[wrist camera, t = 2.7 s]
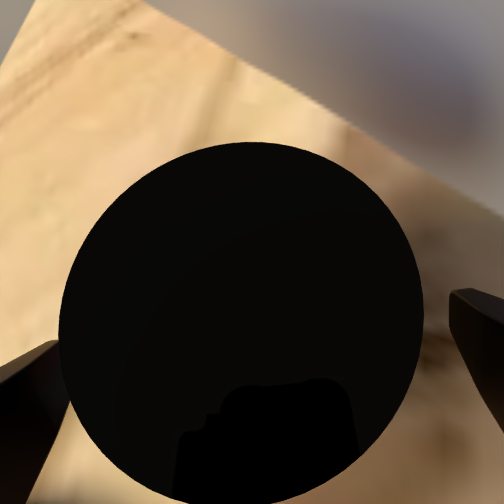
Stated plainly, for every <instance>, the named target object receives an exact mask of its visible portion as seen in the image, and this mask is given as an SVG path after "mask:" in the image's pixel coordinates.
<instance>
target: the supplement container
mask: <svg viewBox="0 0 504 504" xmlns="http://www.w3.org/2000/svg"><path fill="white" fill-rule="evenodd" d="M423 321H424V309H423V293H422V287H421V281H420V275H419V271H418V268H417V264H416V261H415V257H414V255H413V252H412V250H411V247H410V245H409V242H408V240H407V238H406V236H405V234H404V232H403V230H402V228H401V227H400V225H399V223H398V221H397V220H396V219H395V217H394V216H393V214H392V213H391V211H390V210H389V208H388V207H387V206H386V205H385V204H384V202H383V201H382V200H381V199H380V198H379V196H378V195H377V194H376V193H375V192H374V191H372V190H371V189H370V188H369V187H368V186H367V185H366V184H365V183H364V182H363V181H361V180H360V179H359V178H358V177H356V176H355V175H354V174H352V173H351V172H349V171H348V170H346V169H345V168H343V167H341V166H340V165H338V164H336V163H334V162H332V161H330V160H328V159H326V158H324V157H322V156H320V155H317V154H315V153H312V152H309V151H306V150H303V149H299V148H296V147H292V146H287V145H281V144H275V143H264V142H240V143H229V144H223V145H217V146H212V147H208V148H204V149H200V150H197V151H194V152H191V153H188V154H185V155H183V156H180V157H178V158H176V159H173V160H171V161H169V162H167V163H165V164H163V165H162V166H160V167H158V168H156V169H154V170H153V171H151V172H150V173H148V174H147V175H145V176H143V177H142V178H141V179H139V180H138V181H137V182H135V183H134V184H133V185H132V186H130V187H129V188H128V189H127V190H126V191H125V192H123V193H122V194H121V195H120V196H119V197H118V198H117V199H116V200H115V201H114V202H113V203H112V204H111V205H110V206H109V207H108V208H107V210H106V211H105V212H104V213H103V215H102V216H101V217H100V218H99V220H98V221H97V222H96V224H95V225H94V226H93V228H92V229H91V231H90V232H89V234H88V235H87V237H86V239H85V241H84V242H83V244H82V246H81V248H80V250H79V252H78V254H77V256H76V258H75V260H74V263H73V265H72V267H71V270H70V273H69V276H68V279H67V282H66V285H65V289H64V293H63V297H62V303H61V309H60V315H59V330H58V339H59V356H60V363H61V370H62V374H63V378H64V383H65V387H66V390H67V393H68V395H69V398H70V401H71V404H72V406H73V408H74V410H75V412H76V414H77V416H78V418H79V420H80V422H81V424H82V426H83V427H84V429H85V430H86V432H87V433H88V435H89V437H90V438H91V439H92V441H93V442H94V443H95V444H96V446H97V447H98V448H99V449H100V450H101V452H102V453H103V454H104V455H105V456H106V457H107V458H108V459H109V460H110V461H111V462H112V463H113V464H114V465H115V466H116V467H117V468H119V469H120V470H121V471H123V472H124V473H125V474H127V475H128V476H129V477H131V478H132V479H133V480H135V481H136V482H138V483H140V484H142V485H143V486H145V487H147V488H149V489H150V490H152V491H154V492H157V493H159V494H161V495H164V496H166V497H169V498H171V499H174V500H178V501H181V502H185V503H188V504H272V503H276V502H281V501H284V500H287V499H290V498H292V497H295V496H298V495H301V494H304V493H306V492H308V491H310V490H312V489H314V488H316V487H318V486H320V485H322V484H324V483H326V482H327V481H329V480H330V479H332V478H333V477H335V476H336V475H338V474H339V473H341V472H342V471H344V470H345V469H346V468H347V467H349V466H350V465H351V464H352V463H353V462H355V461H356V460H357V459H358V458H359V457H360V456H362V455H363V454H364V453H365V452H366V451H367V449H368V448H369V447H370V446H371V445H372V444H373V443H374V442H375V441H376V440H377V439H378V438H379V436H380V435H381V434H382V432H383V431H384V430H385V428H386V427H387V426H388V424H389V423H390V421H391V420H392V419H393V417H394V415H395V413H396V412H397V410H398V408H399V406H400V405H401V403H402V401H403V399H404V397H405V395H406V393H407V390H408V388H409V385H410V383H411V381H412V378H413V375H414V372H415V368H416V365H417V362H418V358H419V353H420V348H421V342H422V337H423Z"/></svg>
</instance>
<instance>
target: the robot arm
mask: <svg viewBox="0 0 504 504" xmlns="http://www.w3.org/2000/svg"><path fill="white" fill-rule="evenodd" d="M449 328H450V332H451V334H452V336H453V339H454V341H455V343H456V345H457V347H458V349H459V351H460V353H461V356H462V358H463V360H464V362H465V364H466V366H467V368H468V370H469V373H470V375H471V377H472V379H473V381H474V383H475V385H476V387H477V389H478V391H479V393H480V395H481V397H482V398H483V400H484V402H485V404H486V405H487V407H488V408H489V410H490V412H491V413H492V415H493V416H494V418H495V420H496V421H497V423H498V425H499V426H500V428H501V429H502V431H503V433H504V299H502V298H499V297H496V296H493V295H490V294H487V293H484V292H481V291H479V290H476V289H473V288H465V289H458V290H453V291H451V293H450V296H449ZM69 403H70V398H69V395H68V393H67V390H66V387H65V383H64V378H63V374H62V370H61V363H60V356H59V340H51V341H48V342H45V343H44V344H42V345H40V346H38V347H36V348H34V349H33V350H31V351H29V352H27V353H25V354H23V355H22V356H20V357H18V358H16V359H14V360H12V361H11V362H9V363H7V364H5V365H3V366H1V367H0V504H26V502H27V500H28V498H29V495H30V493H31V491H32V489H33V487H34V485H35V483H36V481H37V478H38V476H39V474H40V472H41V470H42V468H43V466H44V463H45V461H46V459H47V457H48V455H49V453H50V451H51V448H52V446H53V444H54V442H55V440H56V437H57V435H58V433H59V430H60V428H61V425H62V422H63V420H64V417H65V414H66V411H67V408H68V406H69Z"/></svg>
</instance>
